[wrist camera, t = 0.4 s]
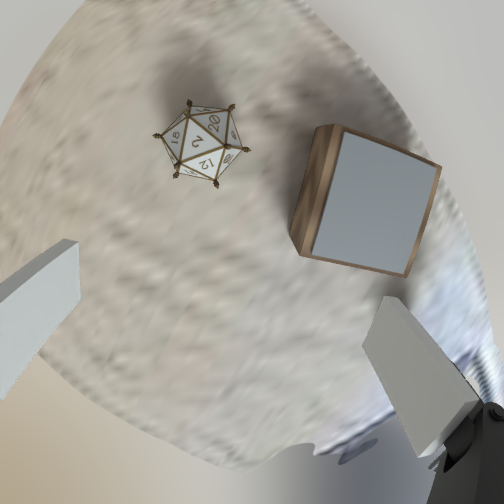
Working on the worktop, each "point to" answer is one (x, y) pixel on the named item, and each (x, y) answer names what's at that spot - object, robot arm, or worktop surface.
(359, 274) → the worktop surface
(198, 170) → the game die
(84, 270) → the worktop surface
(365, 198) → the walnut base block
